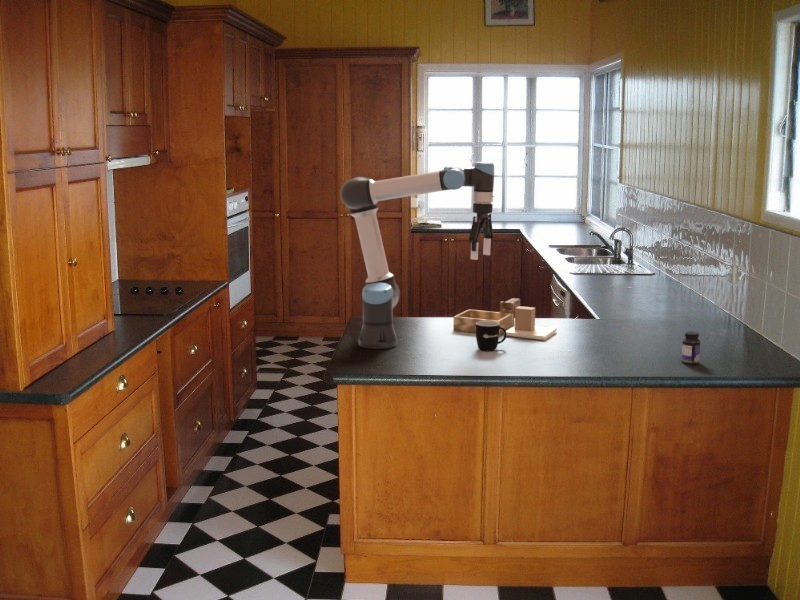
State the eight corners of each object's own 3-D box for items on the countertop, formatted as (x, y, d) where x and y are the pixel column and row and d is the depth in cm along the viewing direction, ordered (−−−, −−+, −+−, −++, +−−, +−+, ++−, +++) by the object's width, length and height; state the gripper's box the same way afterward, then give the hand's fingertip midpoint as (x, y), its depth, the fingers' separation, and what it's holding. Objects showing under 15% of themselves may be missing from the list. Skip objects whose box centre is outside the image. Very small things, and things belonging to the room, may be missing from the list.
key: (504, 308, 374) (504, 302, 374) (513, 303, 384) (513, 297, 383) (512, 308, 373) (512, 303, 372) (521, 304, 382) (521, 298, 382)
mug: (479, 353, 332) (480, 326, 330) (472, 347, 340) (472, 321, 338) (510, 351, 334) (510, 324, 332) (502, 345, 343) (502, 319, 341)
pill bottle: (695, 360, 321) (697, 330, 318) (701, 364, 315) (703, 334, 312) (678, 360, 320) (680, 330, 318) (684, 365, 314) (686, 334, 312)
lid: (503, 337, 357) (504, 310, 354) (517, 329, 370) (517, 303, 368) (544, 341, 349) (545, 314, 347) (556, 333, 362) (557, 306, 360)
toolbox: (453, 330, 366) (453, 306, 364) (470, 321, 382) (470, 298, 380) (498, 335, 357) (499, 310, 355) (514, 326, 373) (514, 302, 371)
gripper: (480, 205, 328) (477, 262, 332) (503, 200, 350) (500, 253, 354) (461, 204, 331) (459, 260, 335) (485, 199, 353) (482, 252, 357)
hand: (480, 257), depth 345 cm, fingers open, 13 cm apart
